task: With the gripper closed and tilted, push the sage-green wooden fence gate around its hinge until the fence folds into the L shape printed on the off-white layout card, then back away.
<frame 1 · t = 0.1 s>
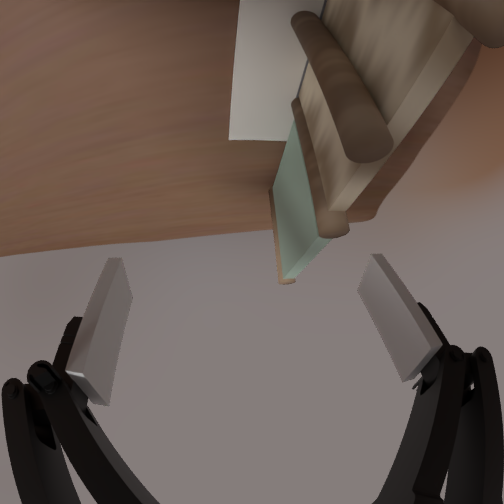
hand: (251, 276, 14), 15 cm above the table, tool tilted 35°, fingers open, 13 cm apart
layout card: (350, 52, 16), on the table
fence gate: (293, 209, 26), point 7 cm above the table, hinge at 0.0°
fence fixed: (302, 104, 21), resting on layout card
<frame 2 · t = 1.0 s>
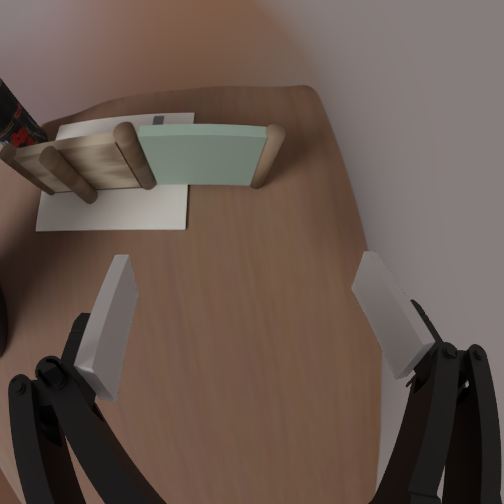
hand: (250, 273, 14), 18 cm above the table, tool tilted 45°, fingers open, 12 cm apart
layout card: (109, 168, 32), on the table
fence gate: (211, 158, 27), point 6 cm above the table, hinge at 0.0°
fence fixed: (148, 182, 32), resting on layout card
deodorant: (33, 147, 31), on the table
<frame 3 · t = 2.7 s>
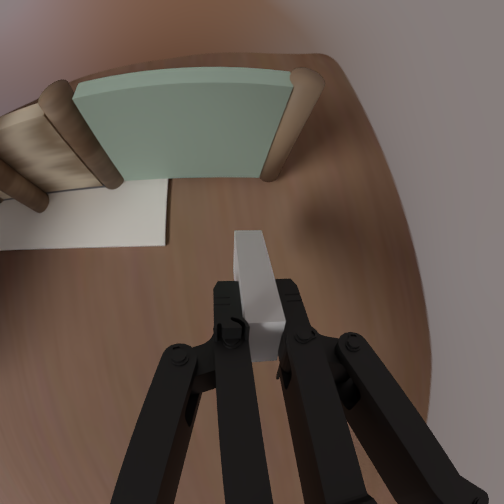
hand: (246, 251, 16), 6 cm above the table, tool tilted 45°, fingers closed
layout card: (66, 163, 21), on the table
fence gate: (197, 134, 16), point 7 cm above the table, hinge at 0.0°
fence fixed: (113, 179, 21), resting on layout card
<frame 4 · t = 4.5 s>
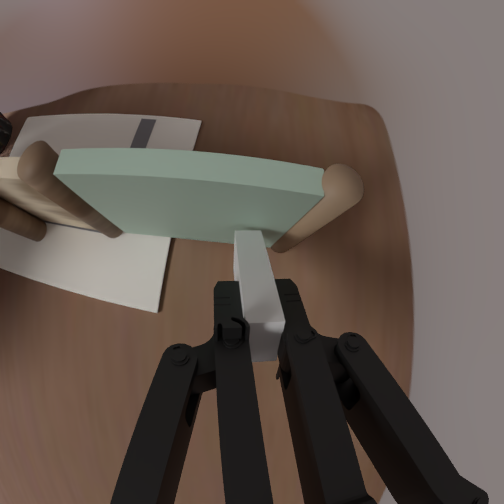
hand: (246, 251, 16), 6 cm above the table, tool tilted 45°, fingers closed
layout card: (68, 191, 20), on the table
fence gate: (205, 210, 15), point 7 cm above the table, hinge at 4.2°, touching gripper
fence fixed: (113, 226, 20), resting on layout card
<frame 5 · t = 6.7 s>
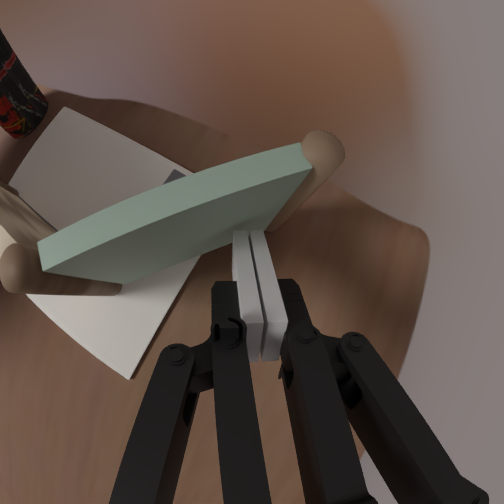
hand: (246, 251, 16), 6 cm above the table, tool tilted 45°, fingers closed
layout card: (77, 220, 20), on the table
fence gate: (197, 228, 15), point 6 cm above the table, hinge at 52.5°, touching gripper
fence fixed: (110, 283, 19), resting on layout card
deodorant: (29, 118, 21), on the table
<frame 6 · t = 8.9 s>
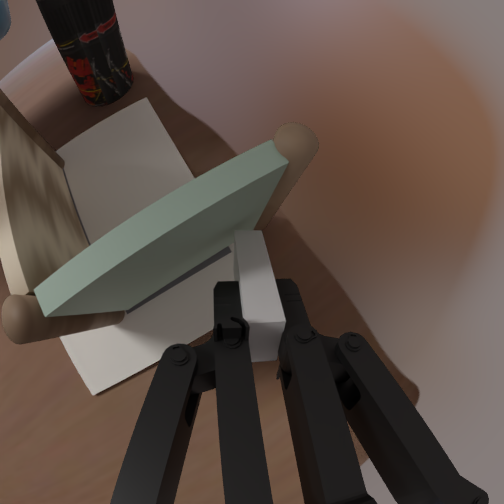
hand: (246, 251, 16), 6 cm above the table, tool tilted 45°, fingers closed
layout card: (107, 231, 20), on the table
fence gate: (186, 242, 15), point 6 cm above the table, hinge at 91.6°
fence fixed: (113, 311, 19), resting on layout card
deodorant: (108, 87, 23), on the table
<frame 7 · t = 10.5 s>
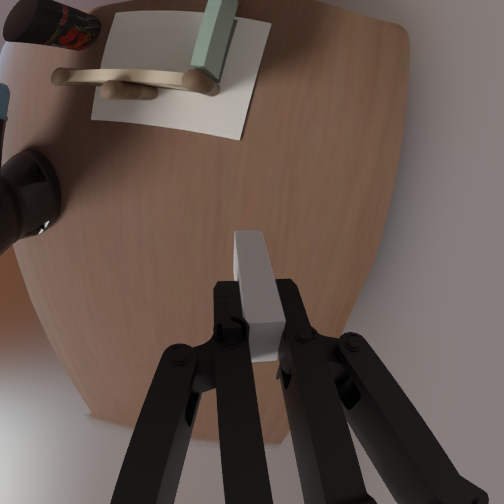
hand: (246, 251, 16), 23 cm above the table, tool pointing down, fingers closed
layout card: (172, 66, 28), on the table
fence gate: (220, 21, 21), point 7 cm above the table, hinge at 91.6°
fence fixed: (212, 89, 30), resting on layout card
deodorant: (84, 33, 24), on the table
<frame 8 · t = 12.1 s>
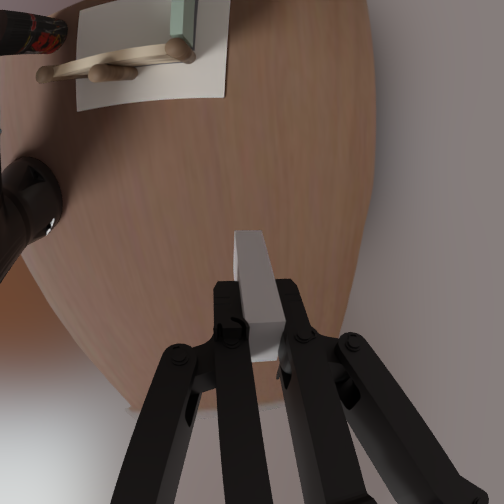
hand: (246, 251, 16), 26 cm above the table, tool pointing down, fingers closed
layout card: (146, 45, 27), on the table
fence fixed: (188, 57, 29), resting on layout card
deodorant: (53, 36, 22), on the table
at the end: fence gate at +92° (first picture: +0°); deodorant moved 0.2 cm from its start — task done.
